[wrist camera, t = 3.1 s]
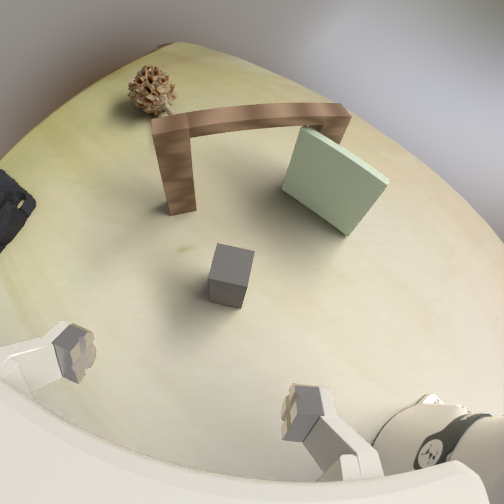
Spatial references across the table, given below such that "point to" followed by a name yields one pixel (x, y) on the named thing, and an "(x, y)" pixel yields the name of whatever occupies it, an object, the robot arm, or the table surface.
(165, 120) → the door frame
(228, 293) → the gray rectangular block
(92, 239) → the table surface
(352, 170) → the door
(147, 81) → the dried seed pod
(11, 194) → the dark slate chunk
